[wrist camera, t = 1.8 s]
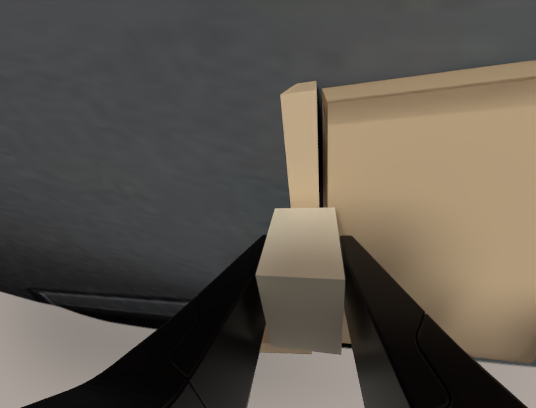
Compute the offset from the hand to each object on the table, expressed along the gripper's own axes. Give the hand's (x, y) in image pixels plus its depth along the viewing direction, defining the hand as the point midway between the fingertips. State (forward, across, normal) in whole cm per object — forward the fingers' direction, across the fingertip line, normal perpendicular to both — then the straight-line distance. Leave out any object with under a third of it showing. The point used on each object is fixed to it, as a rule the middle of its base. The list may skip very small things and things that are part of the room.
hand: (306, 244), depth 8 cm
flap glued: (+7, 0, -2) cm, 7 cm away
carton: (+7, -5, +1) cm, 9 cm away
